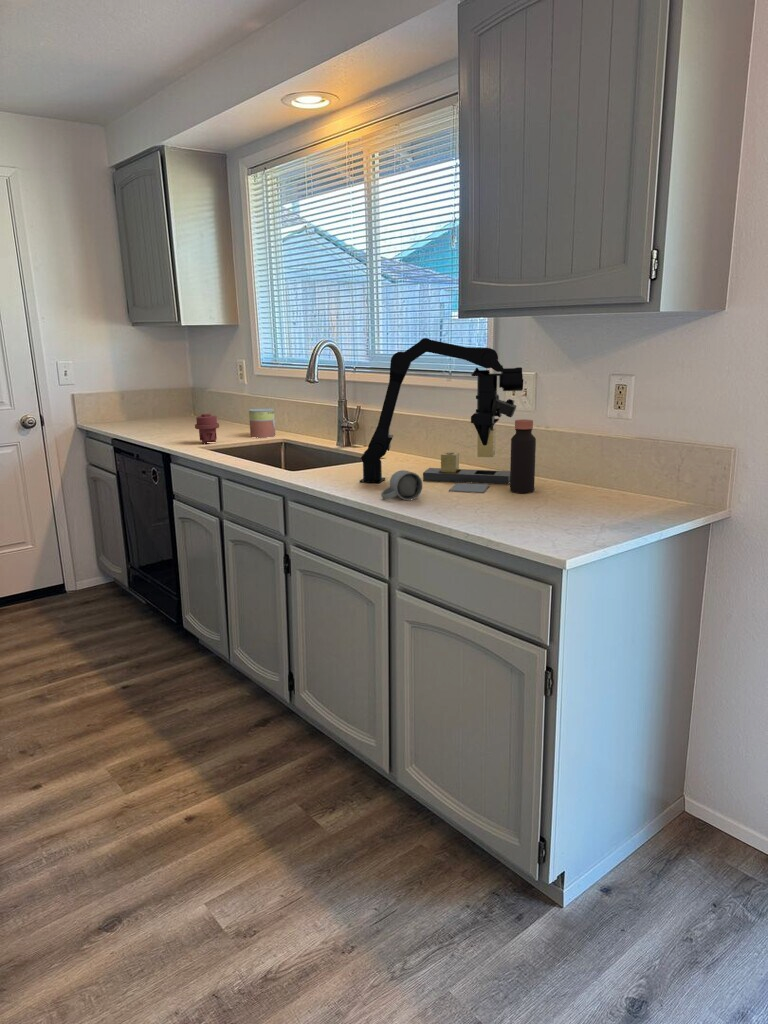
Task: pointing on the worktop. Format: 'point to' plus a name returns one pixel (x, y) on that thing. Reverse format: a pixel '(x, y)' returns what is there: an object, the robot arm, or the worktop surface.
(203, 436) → the mechanical component
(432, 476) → the rack rail
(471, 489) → the grey pad
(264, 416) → the canned food
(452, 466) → the khaki square post block
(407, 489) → the ceramic mug
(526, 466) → the bottle
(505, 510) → the worktop surface
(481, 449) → the olive beige rectangular block
